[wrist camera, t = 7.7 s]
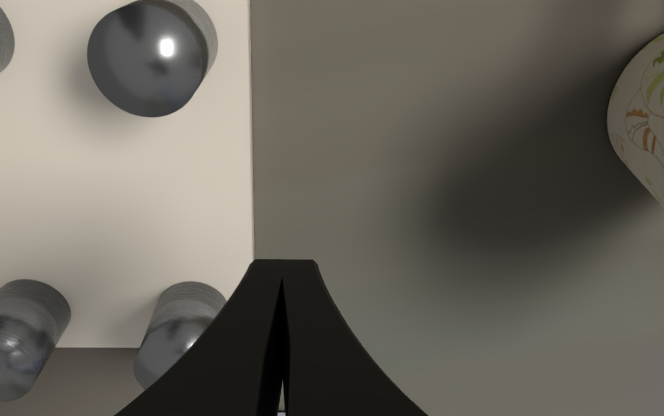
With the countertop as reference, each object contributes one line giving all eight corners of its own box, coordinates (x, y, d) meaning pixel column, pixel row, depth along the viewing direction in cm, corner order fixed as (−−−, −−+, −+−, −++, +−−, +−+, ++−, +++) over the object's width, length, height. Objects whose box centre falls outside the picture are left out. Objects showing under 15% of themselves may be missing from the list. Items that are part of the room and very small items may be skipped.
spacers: (231, 347, 24) (220, 411, 21) (-117, 345, 23) (-184, 411, 20) (215, -23, 17) (195, -13, 14) (-279, -48, 16) (-419, -42, 13)
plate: (255, 336, 25) (254, 348, 24) (-118, 333, 24) (-131, 346, 23) (249, -24, 18) (247, -22, 17) (-273, -49, 17) (-299, -49, 16)
